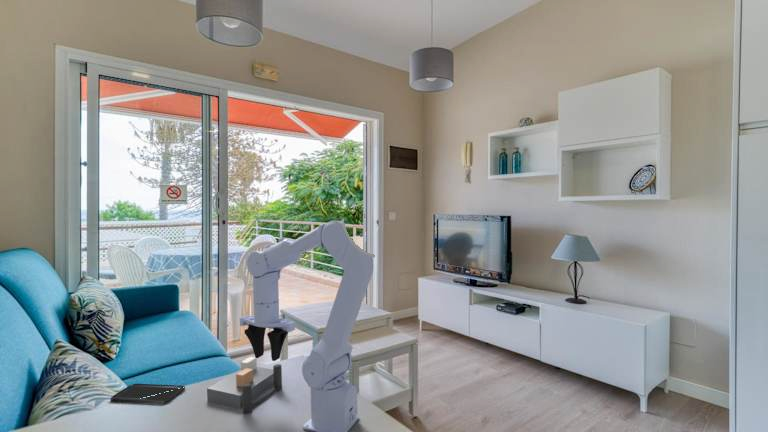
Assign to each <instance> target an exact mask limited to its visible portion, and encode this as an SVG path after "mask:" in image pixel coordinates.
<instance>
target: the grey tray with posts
mask: <svg viewBox="0 0 768 432" xmlns="http://www.w3.org/2000/svg"><path fill="white" fill-rule="evenodd" d="M257 364H258V363H257V358H256V357H255V356H254V357H253V356H250V357H247V358H245V359H244V360H242V361H241V362H240V369H238V370H237V371H235V372H233V373H231V374H230V375H228V376H226V377H224V378H223V379H221V380H219V381H217V382H216V383H214V384H212V385H210V386H209V387H206V398H207V399H206V400H207V402H211V403H217V404H219V405H220V404H221V405H224V406H229V407H233V408H237V409H243V399H242V387H239V386H236V374H237V373H239V372H241V371H242V370H244V369H246V368H249V369H253V381H252V382H251V383H250V384H251V385H252V401H253V400H254V399H256V398H257V397H259V396H260V395H261V394H263V393H264V392H265V391H267V390H269V389H270V388H272V387H274V377H273V368H267V367H261V366H258V365H257Z"/></svg>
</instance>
